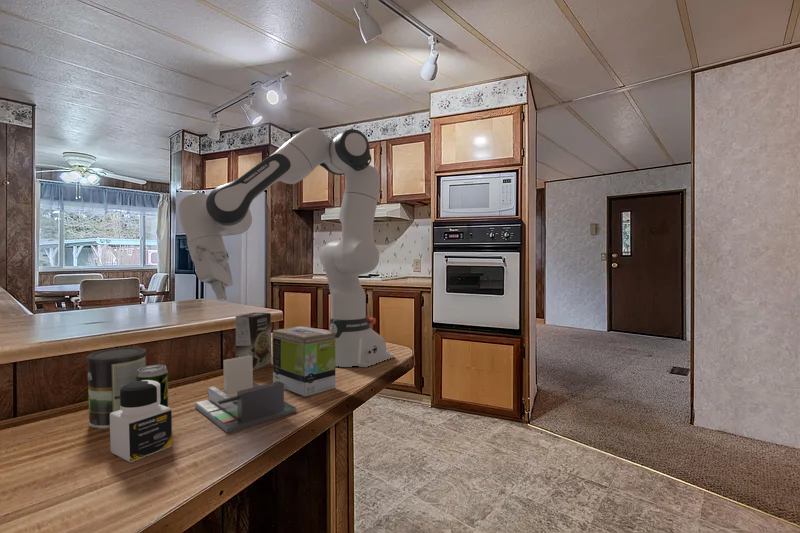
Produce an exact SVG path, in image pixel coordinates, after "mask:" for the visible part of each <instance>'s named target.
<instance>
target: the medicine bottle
mask: <svg viewBox="0 0 800 533" xmlns="http://www.w3.org/2000/svg"><path fill="white" fill-rule="evenodd" d="M160 402H161V401H160V383H158V382H157V381H153V380H141V381H135V382H132V383H129V384H127V385H125V386H123V387H122V388H121V389H120V410H119V411H115V412H112V413H110V428H109V436H110V440H109V442H110V446H109V447H110V452H111V453H112V454H113V455H116V456H117V457H119V458H121V459H122V460H124V461H126V462H128V463H134V462H137V461H140V460H141V459H145V458H147V457H149V456H152V455H154V454H156V453H159V452H161V451H164V450H167V449H169V448H171V447H173V446H172V445H173V430H172V429H173V427H172V426H173V422H172V419H173V418H172V408H171V407H166V406H163V405H160ZM146 456H147V457H146Z"/></svg>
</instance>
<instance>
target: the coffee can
mask: <svg viewBox="0 0 800 533" xmlns="http://www.w3.org/2000/svg"><path fill="white" fill-rule="evenodd" d="M146 354H147V349H146V348H144V347H137V346H136V347H135V346H131V347H130V346H128V347H115V348H108V349H102V350H98V351H95V352H94V351H93V352H92V353H89V354H87V356H86V361H87V388H88V389H87V390H88V395H87V396H88V426H89V427H90V428H92V429H99V430H103V429H104V430H105V429H106V430H108V429H109V430H110V413H112V412H115V411H119V410H120V389H121V388H122V387H123V386H125V385H127V384H129V383H132V382H135V381H136V375H137V373H138V369H139V368H142V367H146V366H147V364H146V363H147V360H146V359H147V358H146Z"/></svg>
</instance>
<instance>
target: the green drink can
mask: <svg viewBox="0 0 800 533" xmlns="http://www.w3.org/2000/svg"><path fill="white" fill-rule="evenodd" d="M141 380H153V381H157V382H158V383H160V401H161V402H160V405H163V406H166V407H169V372H168V369H167V366H166V365H164V364H153V365H146V367H142V368H139V369H138V373H137V375H136V381H141ZM169 408H170V407H169Z"/></svg>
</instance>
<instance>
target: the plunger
mask: <svg viewBox="0 0 800 533" xmlns="http://www.w3.org/2000/svg"><path fill="white" fill-rule="evenodd" d="M222 361H223V362H222V363H223V364H222V366H223V392H224V393H225V394H227V395H229V396H230V398H226V399H222V400H218V404H219V405H220V404H223V403H227V402H231V401H235V400H237V391H241V390H245V389H250V388H253V382H254V379H253V378H254V376H253V374H254V372H253V358H252V356H250V355H248V356H243V357H238V358H236V357H232V358H227V359H223V360H222Z"/></svg>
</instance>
